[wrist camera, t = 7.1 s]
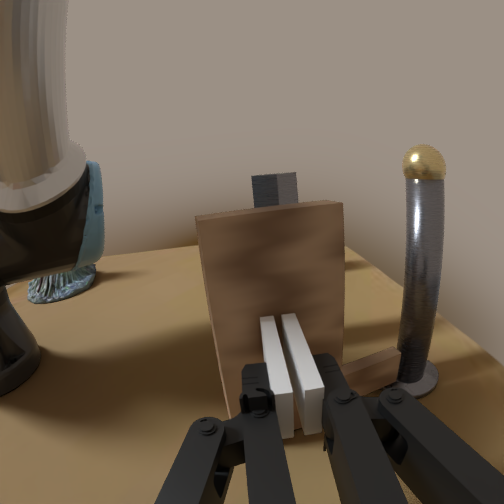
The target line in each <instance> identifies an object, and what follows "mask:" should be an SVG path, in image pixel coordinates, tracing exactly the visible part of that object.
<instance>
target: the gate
mask: <svg viewBox="0 0 504 504" xmlns="http://www.w3.org/2000/svg"><path fill="white" fill-rule="evenodd" d="M343 217H344V216H343V203H342V202H335V201H329V200H322V201H312V202H303V203H293V204H285V205H276V206H268V207H259V208H252V209H244V210H236V211H229V212H221V213H214V214H207V215H200V216H195V221H196V229H197V236H198V243H199V251H200V258H201V265H202V271H203V278H204V284H205V291H206V297H207V303H208V309H209V315H210V321H211V327H212V333H213V338H214V344H215V349H216V355H217V360H218V365H219V371H220V376H221V381H222V386H223V391H224V396H225V401H226V405H227V410H228V415H229V419H232V418H234V417H235V416H237V415H238V414H239V413H240V412H241V407H240V402H239V397H240V394H241V393H242V377H241V371H242V369H243V368H244V366H245V364H254V363H263V362H264V356H263V345H262V335H261V325H260V317H266V316H274V320H275V324H276V328H277V332H278V336H279V340H280V343H281V347H282V351H283V355H284V350H283V334H282V318H281V315H283V314H291V313H295V315H296V317H297V320H298V322H299V325H300V327H301V330H302V332H303V335H304V337H305V340H306V342H307V344H308V347H309V349H310V352H311V354H312V355H316V354H322V353H329V354H330V355H332V356H333V357H334V358H335V360H336V361H337V363H338V365H339V367H340V370H341V371H342V373H343V375H344V377H345V379H346V381H347V383H348V385H349V387H350V389H352V390H354V391H356V392H357V393H358V394H359V396H363V395H366V394H368V393H371V392H373V391H375V390H378V389H380V388H382V387H384V386H387V385H389V384H391V383H393V382H395V381H396V379H397V374H398V369H399V364H400V358H401V352H399V351H398V350H397V349H396V348H394V347H390V348H388V349H385V350H382V351H380V352H377V353H375V354H372V355H369V356H367V357H364V358H361V359H358V360H356V361H353V362H350V363H347V364H344V365H342V353H343V333H344V299H345V250H344V218H343ZM284 359H285V358H284ZM285 363H286V362H285ZM286 367H287V365H286ZM287 371H288V369H287ZM288 375H289V373H288ZM289 379H290V377H289ZM290 383H291V381H290ZM291 387H292V385H291ZM292 390H293V389H292ZM293 411H294V430H295V429H299V428H302V424H301V420H300V416H299V412H298V409H297V405H296V401H295V397H294V393H293Z"/></svg>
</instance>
